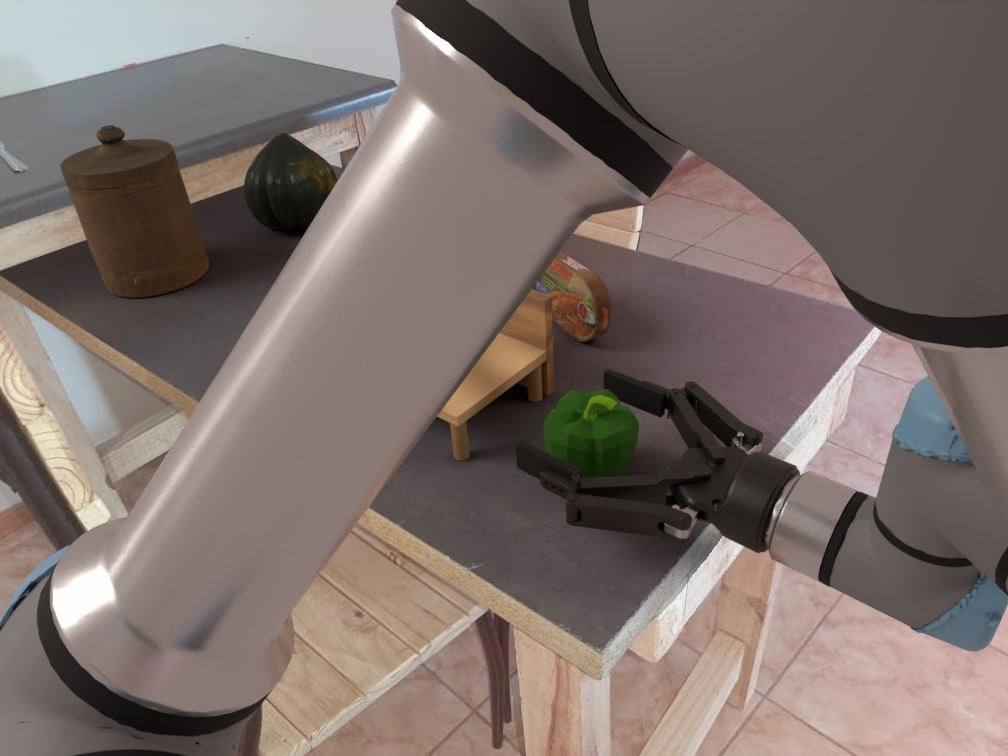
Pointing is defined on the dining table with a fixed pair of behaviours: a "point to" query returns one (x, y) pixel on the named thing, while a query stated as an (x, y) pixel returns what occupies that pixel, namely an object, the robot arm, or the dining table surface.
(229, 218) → the dining table surface
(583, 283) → the tin
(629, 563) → the dining table surface
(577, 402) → the bell pepper
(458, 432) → the miniature wooden chair
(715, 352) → the dining table surface
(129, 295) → the wooden container
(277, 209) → the squash
